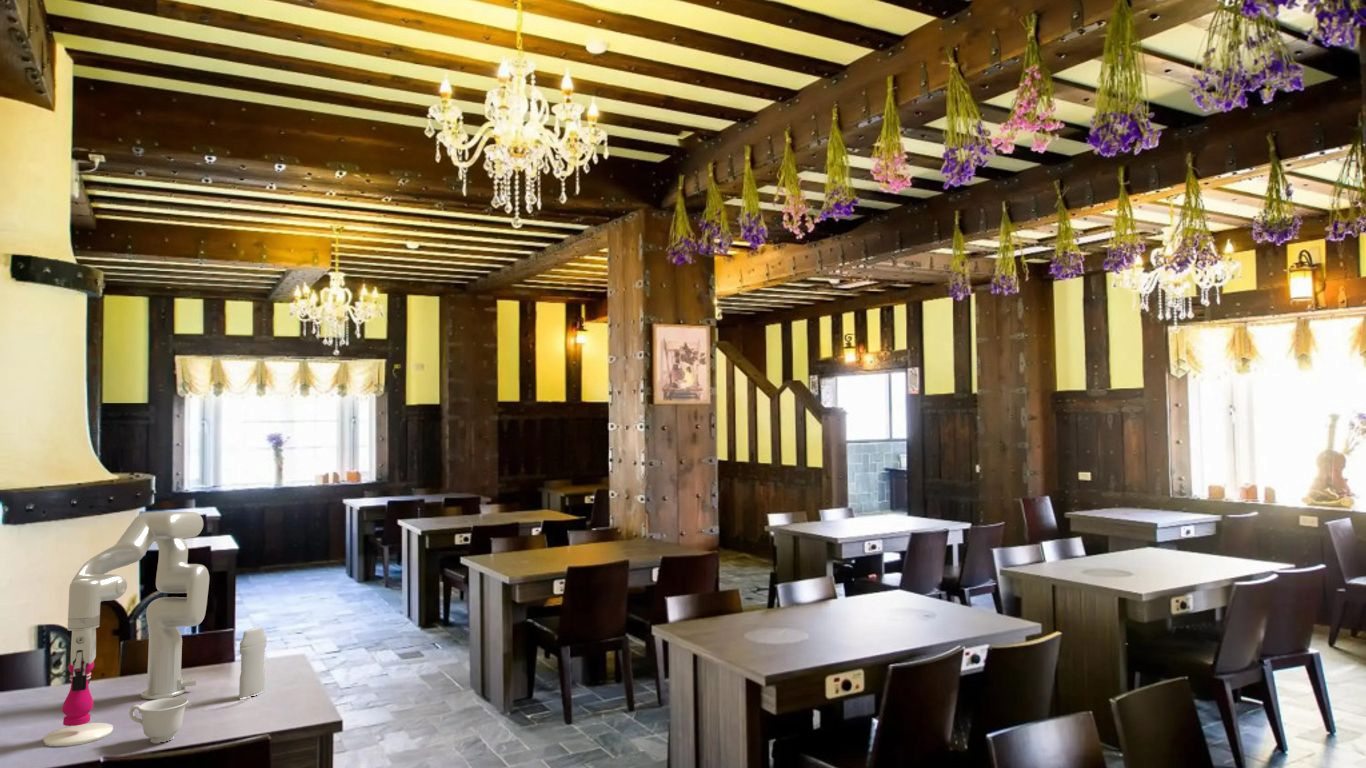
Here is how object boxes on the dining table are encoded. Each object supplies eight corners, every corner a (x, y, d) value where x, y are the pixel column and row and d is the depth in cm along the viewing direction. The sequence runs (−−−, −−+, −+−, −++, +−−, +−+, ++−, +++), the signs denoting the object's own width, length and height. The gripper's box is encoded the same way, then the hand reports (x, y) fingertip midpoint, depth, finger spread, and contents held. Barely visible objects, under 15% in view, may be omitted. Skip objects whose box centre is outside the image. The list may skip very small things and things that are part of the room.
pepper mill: (75, 727, 235) (81, 654, 237) (54, 725, 237) (60, 652, 238) (98, 720, 242) (104, 649, 244) (77, 717, 244) (83, 647, 245)
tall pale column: (243, 701, 272) (245, 631, 273) (233, 699, 273) (235, 630, 275) (269, 691, 282) (271, 624, 283) (259, 690, 283) (261, 624, 285)
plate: (116, 723, 250) (116, 719, 250) (108, 740, 236) (108, 736, 236) (50, 732, 243) (50, 728, 243) (37, 750, 229) (38, 746, 229)
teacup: (141, 733, 242) (142, 698, 242) (195, 731, 243) (196, 696, 244) (116, 748, 230) (117, 711, 230) (173, 746, 231) (174, 709, 232)
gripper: (94, 627, 236) (91, 693, 235) (103, 616, 251) (101, 678, 250) (62, 630, 232) (58, 697, 231) (73, 618, 247) (70, 682, 246)
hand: (80, 686), depth 240 cm, fingers closed on pepper mill, 5 cm apart
